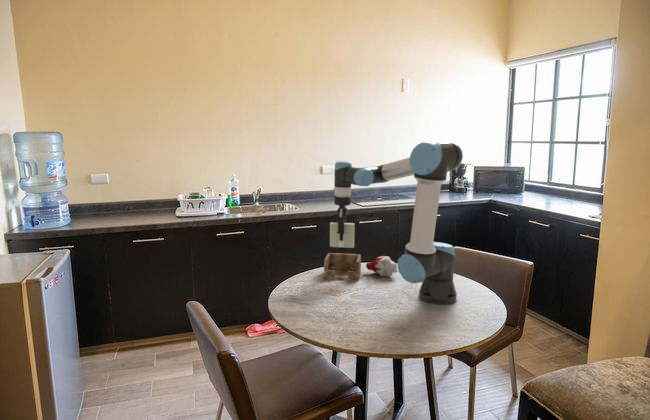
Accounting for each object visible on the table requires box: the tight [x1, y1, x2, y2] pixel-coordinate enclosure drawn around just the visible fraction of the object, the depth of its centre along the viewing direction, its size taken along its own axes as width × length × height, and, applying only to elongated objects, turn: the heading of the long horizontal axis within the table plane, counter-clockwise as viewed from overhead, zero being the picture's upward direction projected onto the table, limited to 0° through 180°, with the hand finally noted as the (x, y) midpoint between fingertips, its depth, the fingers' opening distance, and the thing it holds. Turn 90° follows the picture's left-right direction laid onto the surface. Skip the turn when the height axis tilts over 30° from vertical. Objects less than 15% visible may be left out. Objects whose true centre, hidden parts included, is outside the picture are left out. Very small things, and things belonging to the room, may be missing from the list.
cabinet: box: [323, 252, 362, 282], centre depth 210 cm, size 16×13×9 cm
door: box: [329, 221, 356, 249], centre depth 205 cm, size 11×2×11 cm, turn 81°
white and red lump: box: [365, 255, 398, 277], centre depth 213 cm, size 9×11×15 cm
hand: (341, 246), depth 206 cm, fingers closed on door, 2 cm apart
